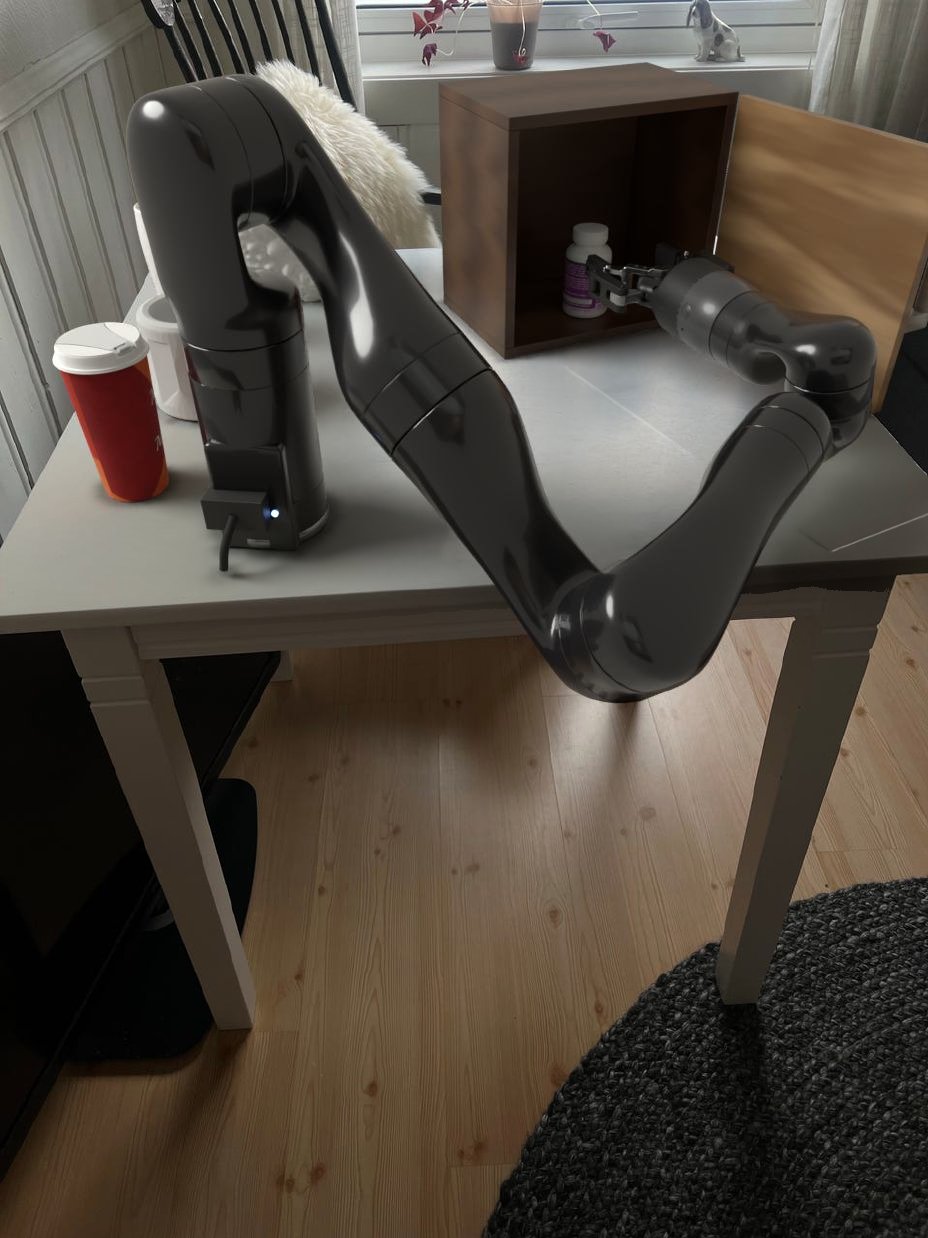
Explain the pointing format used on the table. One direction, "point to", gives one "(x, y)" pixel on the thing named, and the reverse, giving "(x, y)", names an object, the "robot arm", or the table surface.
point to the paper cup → (115, 406)
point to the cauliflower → (276, 258)
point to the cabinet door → (829, 220)
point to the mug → (166, 358)
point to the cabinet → (572, 190)
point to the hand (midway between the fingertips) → (624, 257)
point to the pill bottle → (583, 269)
